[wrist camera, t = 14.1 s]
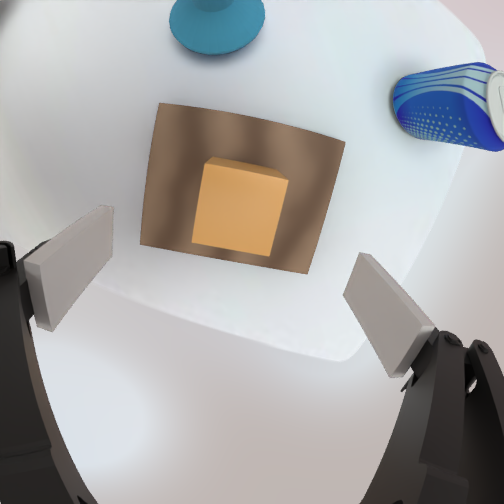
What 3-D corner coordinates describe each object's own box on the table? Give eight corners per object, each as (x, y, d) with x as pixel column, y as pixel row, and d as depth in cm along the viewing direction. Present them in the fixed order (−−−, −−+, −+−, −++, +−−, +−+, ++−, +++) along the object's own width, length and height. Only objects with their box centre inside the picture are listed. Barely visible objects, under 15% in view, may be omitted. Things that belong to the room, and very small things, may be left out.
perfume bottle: (163, 46, 24) (111, -7, 10) (206, -11, 21) (189, -85, 7) (233, 78, 26) (230, 30, 13) (276, 18, 23) (303, -52, 10)
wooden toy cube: (201, 217, 29) (191, 242, 23) (212, 156, 27) (204, 163, 20) (262, 229, 30) (269, 256, 24) (276, 169, 28) (288, 180, 21)
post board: (144, 238, 33) (118, 272, 25) (163, 104, 27) (136, 94, 19) (303, 267, 36) (322, 307, 27) (339, 141, 30) (374, 145, 21)
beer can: (444, 100, 27) (535, 102, 12) (426, 150, 30) (519, 173, 15) (399, 63, 25) (488, 40, 11) (378, 116, 28) (471, 116, 14)
